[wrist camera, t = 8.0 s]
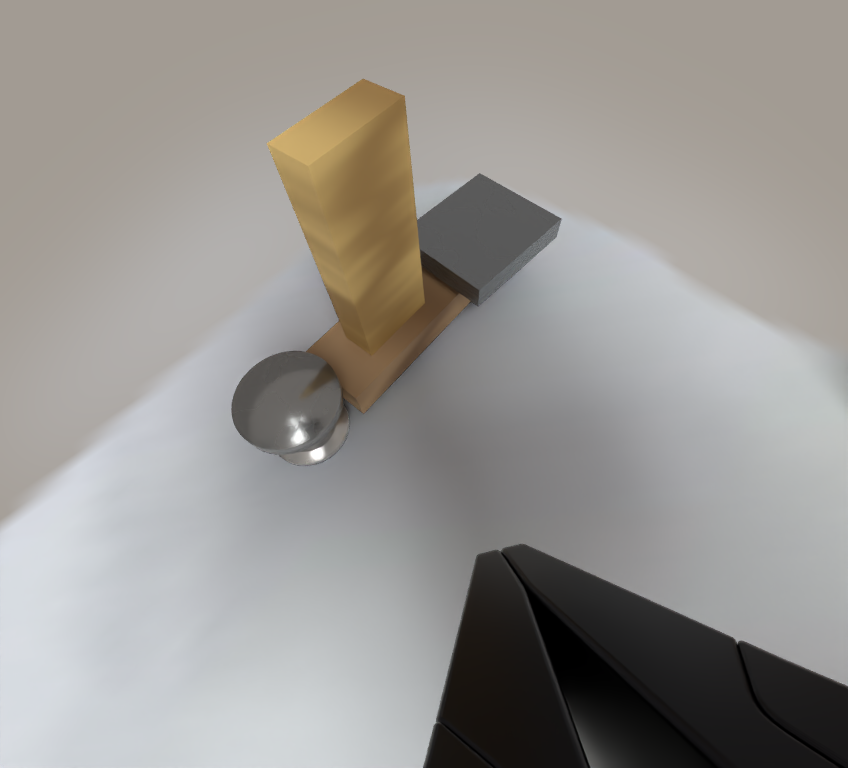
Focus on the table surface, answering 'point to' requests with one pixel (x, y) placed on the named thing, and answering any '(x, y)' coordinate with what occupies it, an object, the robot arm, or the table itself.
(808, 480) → the table surface
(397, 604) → the table surface
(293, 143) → the link
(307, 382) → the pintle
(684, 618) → the robot arm
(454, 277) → the block
